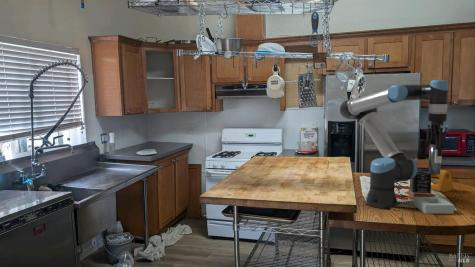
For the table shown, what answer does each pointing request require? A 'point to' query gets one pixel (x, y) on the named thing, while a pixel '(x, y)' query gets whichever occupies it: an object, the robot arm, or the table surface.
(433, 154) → the dark gray tapered cylinder
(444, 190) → the bracket
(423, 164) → the whiskey bottle
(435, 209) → the block
